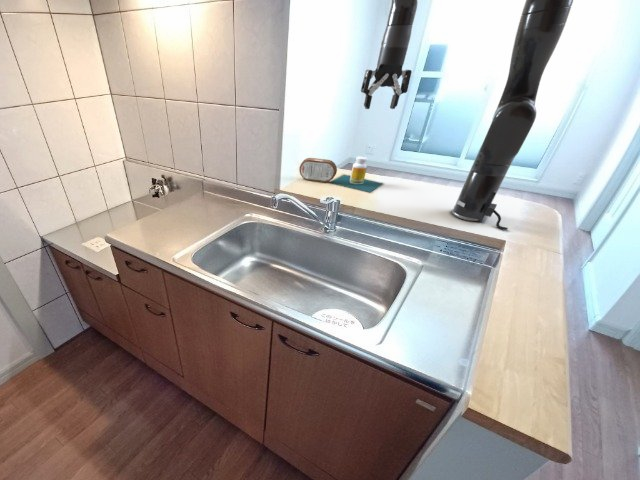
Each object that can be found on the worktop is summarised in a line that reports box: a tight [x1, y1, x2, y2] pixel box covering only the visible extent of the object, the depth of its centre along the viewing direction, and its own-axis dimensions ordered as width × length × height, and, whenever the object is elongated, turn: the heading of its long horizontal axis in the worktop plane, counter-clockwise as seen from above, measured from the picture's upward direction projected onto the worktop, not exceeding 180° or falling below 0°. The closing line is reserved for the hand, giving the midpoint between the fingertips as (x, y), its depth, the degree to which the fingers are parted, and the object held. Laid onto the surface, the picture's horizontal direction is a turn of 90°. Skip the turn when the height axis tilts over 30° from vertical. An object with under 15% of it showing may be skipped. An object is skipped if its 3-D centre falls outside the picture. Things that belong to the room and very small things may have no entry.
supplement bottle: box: [350, 155, 368, 185], centre depth 129 cm, size 5×5×10 cm
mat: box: [329, 174, 384, 193], centre depth 132 cm, size 17×13×1 cm
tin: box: [298, 157, 338, 183], centre depth 132 cm, size 15×3×8 cm, turn 66°
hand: (379, 108), depth 105 cm, fingers open, 8 cm apart
